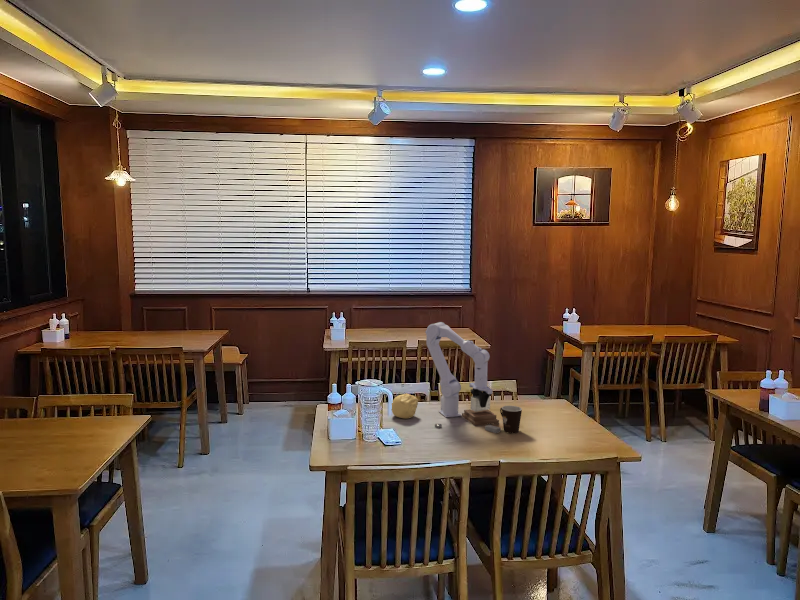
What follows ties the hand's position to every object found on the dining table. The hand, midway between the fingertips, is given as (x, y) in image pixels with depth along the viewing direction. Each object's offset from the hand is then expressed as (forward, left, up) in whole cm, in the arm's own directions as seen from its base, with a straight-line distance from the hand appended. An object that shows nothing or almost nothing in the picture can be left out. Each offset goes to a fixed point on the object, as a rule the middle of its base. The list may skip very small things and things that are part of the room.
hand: (480, 405), depth 256 cm
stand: (0, 0, -7) cm, 7 cm away
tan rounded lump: (-14, -32, -7) cm, 36 cm away
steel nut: (+4, -22, -7) cm, 23 cm away
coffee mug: (+16, +7, -7) cm, 19 cm away
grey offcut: (+15, -1, -7) cm, 17 cm away
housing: (0, 0, -2) cm, 2 cm away
